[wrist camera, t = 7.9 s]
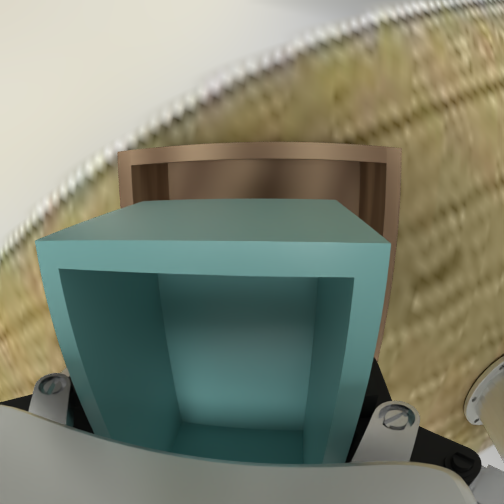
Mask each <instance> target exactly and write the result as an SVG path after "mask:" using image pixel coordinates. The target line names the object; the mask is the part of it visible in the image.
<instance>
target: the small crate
mask: <svg viewBox="0 0 504 504" xmlns="http://www.w3.org/2000/svg"><path fill="white" fill-rule="evenodd" d="M35 243H36V250H37V255H38V261H39V266H40V271H41V276H42V281H43V285H44V290H45V294H46V298H47V303H48V306H49V310H50V314H51V318H52V321H53V325H54V329H55V332H56V335H57V339H58V342H59V345H60V348H61V351H62V354H63V357H64V360H65V363H66V366H67V369H68V372H69V374H70V377H71V380H72V382H73V385H74V388H75V390H76V393H77V395H78V398H79V400H80V402H81V405H82V407H83V409H84V412H85V414H86V416H87V419H88V421H89V423H90V425H91V427H92V429H93V432H94V434H95V435H99V436H102V437H106V438H110V439H113V440H117V441H121V442H125V443H129V444H133V445H137V446H142V447H146V448H151V449H156V450H161V451H166V452H171V453H177V454H183V455H189V456H196V457H203V458H211V459H219V460H229V461H239V462H253V463H271V464H336V463H345V461H346V458H347V455H348V452H349V449H350V446H351V442H352V439H353V436H354V433H355V429H356V426H357V422H358V419H359V415H360V412H361V408H362V404H363V400H364V397H365V393H366V389H367V384H368V380H369V376H370V372H371V367H372V363H373V358H374V353H375V348H376V343H377V338H378V333H379V327H380V322H381V316H382V310H383V304H384V297H385V290H386V283H387V275H388V267H389V259H390V249H391V243H390V242H389V241H387V240H386V239H385V238H384V237H383V236H381V235H380V234H379V233H378V232H376V231H375V230H374V229H373V228H371V227H370V226H369V225H368V224H366V223H365V222H364V221H363V220H361V219H360V218H359V217H358V216H356V215H355V214H354V213H352V212H351V211H350V210H348V209H347V208H346V207H345V206H343V205H342V204H341V203H339V202H338V201H337V200H324V199H189V200H158V201H142V202H139V203H136V204H133V205H130V206H127V207H124V208H121V209H118V210H115V211H112V212H110V213H107V214H104V215H101V216H98V217H95V218H93V219H90V220H87V221H84V222H82V223H79V224H76V225H74V226H71V227H68V228H66V229H63V230H61V231H58V232H55V233H53V234H50V235H48V236H45V237H43V238H40V239H38V240H36V241H35Z"/></svg>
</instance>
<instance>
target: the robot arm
mask: <svg viewBox="0 0 504 504" xmlns="http://www.w3.org/2000/svg"><path fill="white" fill-rule="evenodd" d="M464 414H465V416H466V418H467V420H468V421H469V422H470V423H471V424H474V425H484V427H485V429H486V431H487V432H488V434H489V436H490V438H491V440H492V441H493V443H494V445H495V447H496V449H497V451H498V453H499V454H500V456H501V458H502V460H503V462H504V356H503V357H501V358H500V359H498V360H497V361H496V362H494V363H493V364H492V365H491V366H490V367H489V368H488V369H486V370H485V372H484V373H483V374H482V375H481V376H480V377H479V378H478V380H477V381H476V382H475V383H474V385H473V387H472V388H471V390H470V392H469V394H468V396H467V398H466V401H465V404H464ZM419 423H420V415H419V413H418V411H417V410H416V409H415V408H414V407H413V406H411V405H410V404H408V403H405V402H402V401H392V399H391V397H390V394H389V391H388V389H387V386H386V384H385V381H384V378H383V376H382V373H381V371H380V368H379V365H378V363H377V360H376V359H375V358H373V363H372V367H371V372H370V376H369V380H368V384H367V389H366V393H365V397H364V400H363V404H362V408H361V412H360V415H359V419H358V422H357V426H356V429H355V433H354V436H353V439H352V442H351V446H350V449H349V452H348V455H347V458H346V461H345V463H336V464H271V463H253V462H239V461H229V460H219V459H211V458H203V457H196V456H189V455H183V454H177V453H171V452H166V451H161V450H156V449H151V448H146V447H142V446H137V445H133V444H129V443H125V442H121V441H117V440H113V439H110V438H106V437H102V436H99V435H95V434H94V432H93V429H92V427H91V425H90V423H89V421H88V419H87V416H86V414H85V412H84V409H83V407H82V405H81V402H80V400H79V398H78V395H77V393H76V390H75V388H74V385H73V382H72V380H71V377H70V376H69V377H68V376H66V375H65V374H61V373H53V374H48V375H46V376H44V377H42V378H40V379H39V380H38V381H37V383H36V385H35V387H34V391H33V394H31V395H28V396H24V397H20V398H16V399H12V400H8V401H4V402H0V504H504V472H503V471H501V470H499V469H497V468H495V467H493V466H491V465H488V467H487V468H486V467H484V466H482V465H481V460H480V457H479V455H478V454H477V453H476V452H475V451H473V450H472V449H470V448H468V447H465V446H463V445H461V444H458V443H456V442H454V441H451V440H449V439H447V438H444V437H442V436H440V435H438V434H435V433H433V432H431V431H429V430H427V429H424V428H422V427H420V426H419Z"/></svg>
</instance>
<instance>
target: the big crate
mask: <svg viewBox="0 0 504 504" xmlns="http://www.w3.org/2000/svg"><path fill="white" fill-rule="evenodd" d="M401 152H402V148H394V147H383V146H371V145H357V144H340V143H315V142H236V143H212V144H194V145H180V146H168V147H157V148H147V149H138V150H129V151H121V152H118V176H119V193H120V206H121V208H124V207H127V206H130V205H133V204H136V203H139V202H142V201H158V200H189V199H324V200H337V201H338V202H339V203H341V204H342V205H343V206H345V207H346V208H347V209H348V210H350V211H351V212H352V213H354V214H355V215H356V216H358V217H359V218H360V219H361V220H363V221H364V222H365V223H366V224H368V225H369V226H370V227H371V228H373V229H374V230H375V231H376V232H378V233H379V234H380V235H381V236H383V237H384V238H385V239H386V240H387V241H389V242H390V243H391V249H390V259H389V267H388V275H387V283H386V290H385V297H384V304H383V310H382V316H381V322H380V327H379V333H378V338H377V343H376V348H375V353H374V358H375V359H376V360H377V362H378V357H379V353H380V348H381V343H382V338H383V333H384V328H385V323H386V317H387V311H388V305H389V299H390V293H391V286H392V279H393V271H394V263H395V255H396V245H397V235H398V223H399V209H400V191H401Z"/></svg>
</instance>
